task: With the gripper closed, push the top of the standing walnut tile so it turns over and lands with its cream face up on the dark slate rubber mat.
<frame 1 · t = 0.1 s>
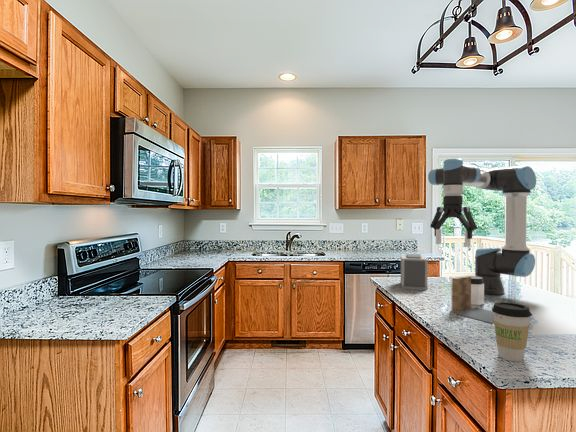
hand: (452, 245, 151), 28 cm above the countertop, fingers open, 13 cm apart
coffee cup: (510, 357, 103), on the countertop
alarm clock: (413, 286, 201), on the countertop
mat: (483, 315, 144), on the countertop
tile: (461, 309, 153), on the countertop
jar: (472, 303, 164), on the countertop
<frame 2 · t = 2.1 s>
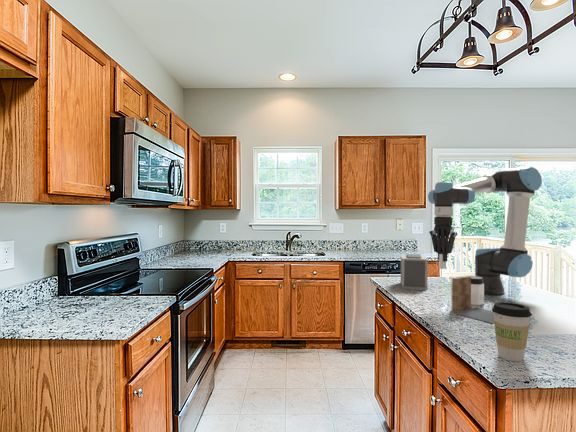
hand: (442, 268, 161), 17 cm above the countertop, fingers closed
nothing on the countertop moved.
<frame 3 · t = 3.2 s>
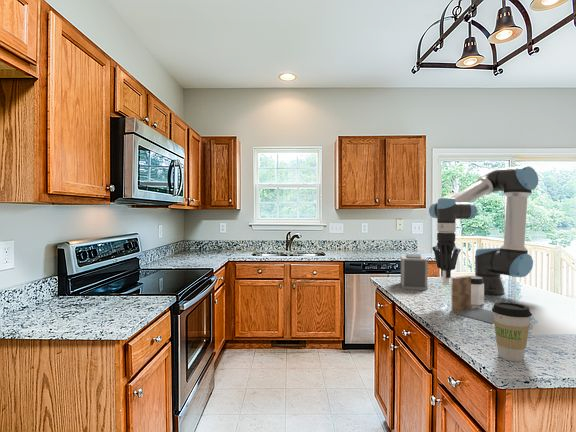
hand: (445, 284, 159), 9 cm above the countertop, fingers closed
nothing on the countertop moved.
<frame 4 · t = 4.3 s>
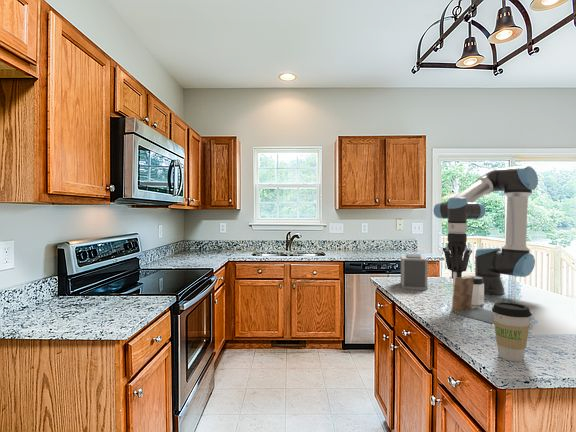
hand: (456, 286, 155), 9 cm above the countertop, fingers closed
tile: (461, 309, 153), on the countertop, tilted 6°
everything else where it was.
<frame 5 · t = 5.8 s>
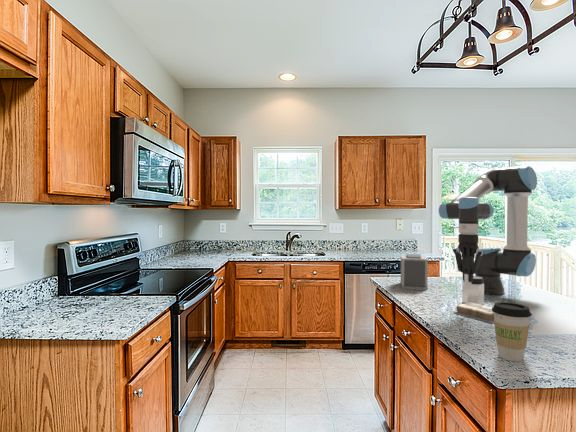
hand: (467, 289, 150), 9 cm above the countertop, fingers closed
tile: (464, 306, 152), point 2 cm above the countertop, tilted 90°, touching mat
everything else where it was.
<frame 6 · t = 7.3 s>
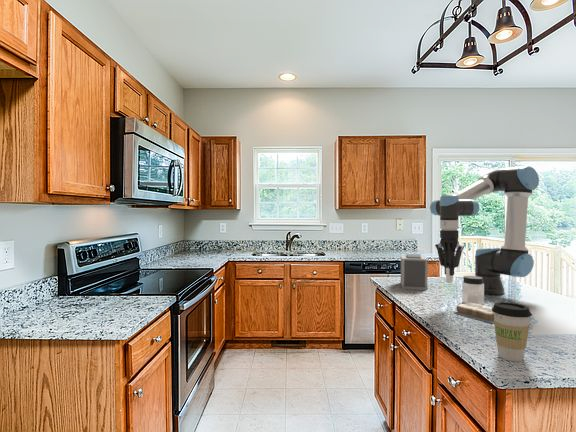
hand: (449, 282, 158), 11 cm above the countertop, fingers closed
nothing on the countertop moved.
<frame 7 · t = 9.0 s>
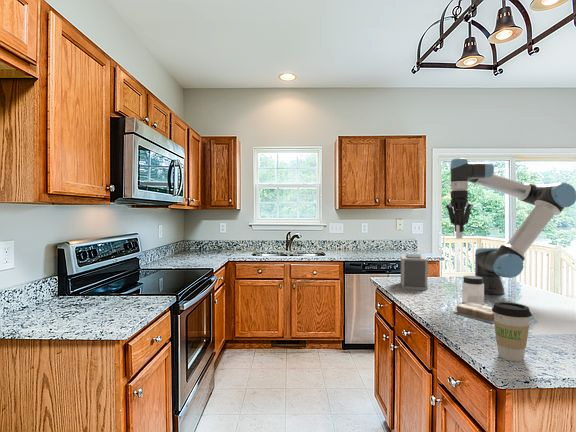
hand: (459, 238, 174), 29 cm above the countertop, fingers closed
nothing on the countertop moved.
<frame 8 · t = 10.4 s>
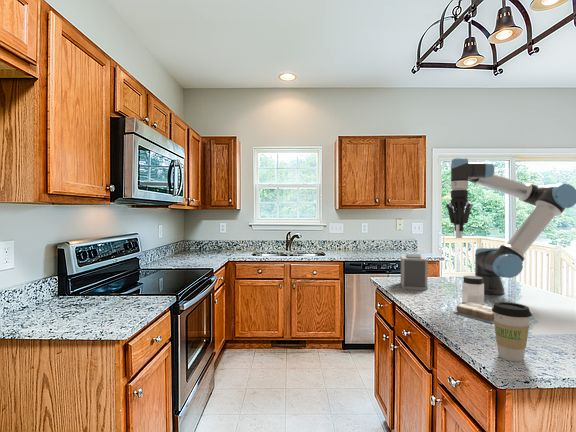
hand: (458, 237, 174), 29 cm above the countertop, fingers closed
nothing on the countertop moved.
at the end: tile tilted 90°; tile inside the target area (6.2 cm from its centre), point 1.5 cm above the countertop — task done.
